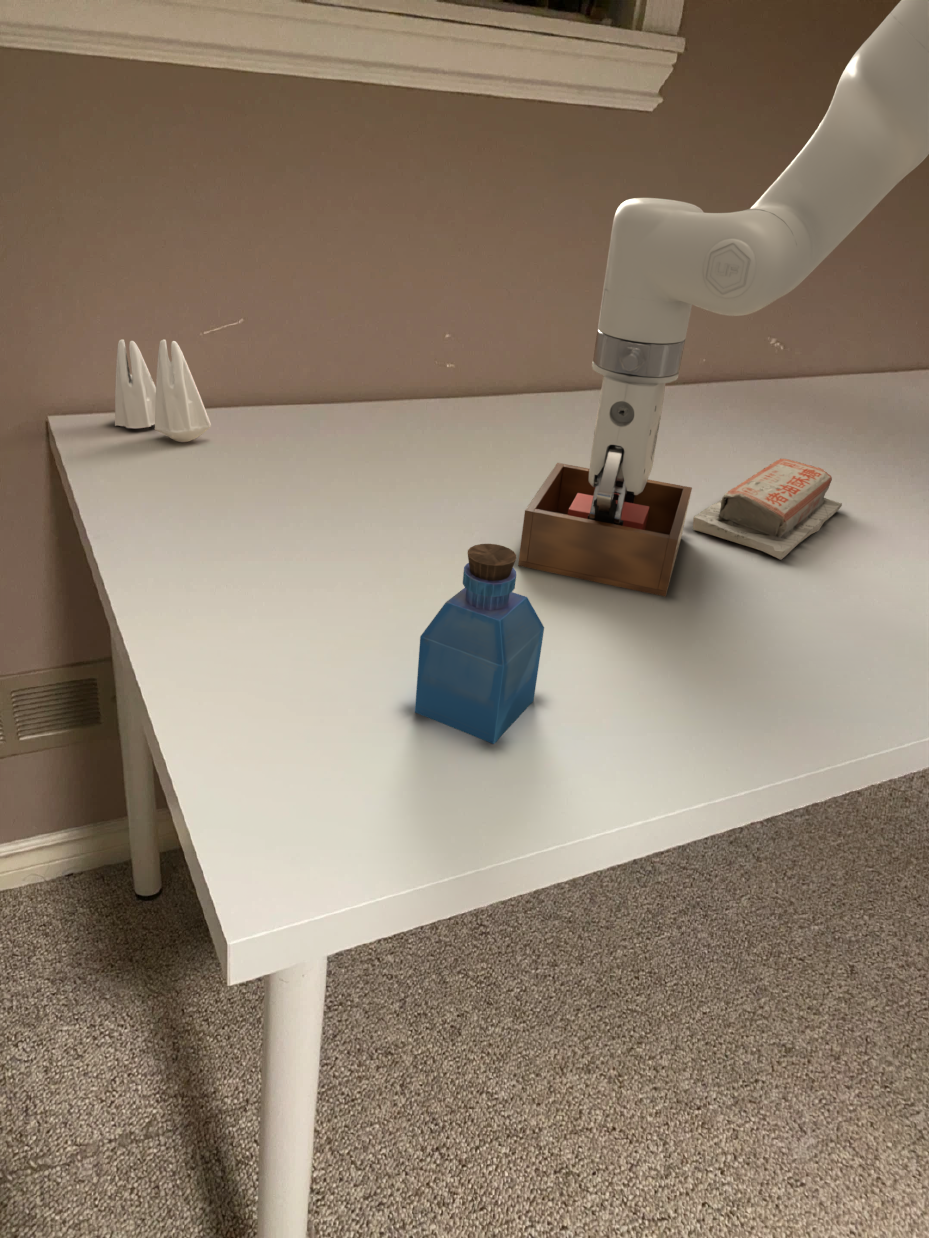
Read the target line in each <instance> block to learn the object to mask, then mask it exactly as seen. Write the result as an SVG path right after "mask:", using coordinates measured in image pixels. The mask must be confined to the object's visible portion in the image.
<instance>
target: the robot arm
mask: <svg viewBox="0 0 929 1238" xmlns="http://www.w3.org/2000/svg"><path fill="white" fill-rule="evenodd" d="M928 156H929V0H900V1H899V2H898V3H897V4H896V5H895V6H894V8H892V10H891V11H890V12H889V14H888V15H887V16H886V17H885V18H884V20H883V21H882V22H881V23H880V24H879V25H878V26H877V27H876V28H875V30H874V31H873V32H872V33H871V35H869V37H868V38H867V39H866V40H865V41H864V42H863V43H862V44H861V46H859V48H858V49H857V50H856V51H855V53H854V54H853V55H852V57H851V59H850V60H849V62H848V63H847V65H846V66H845V69H844V70H843V71H842V73H841V76H840V78H839V80H838V83H837V85H836V88H835V91H834V94H833V96H832V98H831V101H830V104H829V107H828V109H827V111H826V113H825V115H824V116H823V118H822V119H821V122H820V123H819V125H818V126H817V128H816V129H815V131H814V132H813V134H812V135H811V137H810V138H809V139H808V141H807V142H806V144H805V145H804V146H803V148H802V149H801V150H800V151H799V153H798V154H797V155H796V156H795V157H794V159H792V161H791V162H790V163H789V164H788V166H787V167H786V168H785V169H784V170H783V171H782V172H781V173H780V175H779V176H778V177H777V178H776V179H775V181H774V182H773V183H772V184H771V185H770V186H769V187H768V188H767V189H766V190H765V191H764V193H763V194H762V195H761V196H760V197H759V199H757V200H756V202H755V203H754V204H753V205H751V207H750V208H748V209H744V210H738V211H732V212H704V210H702V208H701V207H699V206H697V205H696V204H693V203H689V202H687V201H682V200H681V201H680V200H674V199H666V198H657V197H655V198H654V197H634V198H629V199H626V200H625V201H623V202H622V203H620V205H618V207H617V209H616V210H615V214H614V217H613V221H612V228H611V232H610V241H609V248H608V254H607V261H606V267H605V276H604V282H603V288H602V289H603V290H602V296H601V302H600V308H599V317H598V323H597V330H596V337H595V343H594V349H593V358H592V363H591V369H592V370H593V371H594V372H595V373H597V374H599V375H602V376H603V377H602V384H601V388H600V393H599V399H598V406H597V412H596V419H595V425H594V431H593V438H592V446H591V454H590V461H589V467H588V468H589V483H590V484H591V485H592V486H593V487H595V491H594V495H593V500H592V505H591V510H590V514H589V515H588V519H590V520H595V521H600V522H605V523H610V524H615V525H620V526H623V522H624V521H623V520H621V516H622V511H623V506H624V502H628V503H633V504H634V498H635V495H638V494H640V493H641V492H642V491H643V490H644V487H645V485H646V483H647V480H649V478H650V475H651V472H652V468H653V467H654V462H655V461H654V460H655V454H656V449H657V448H656V447H657V441H658V435H659V429H660V425H661V424H660V423H661V418H662V412H663V406H664V400H665V393H666V384H669V383H672V382H675V381H677V380H678V379H679V375H680V369H681V364H682V358H683V354H684V348H685V343H686V338H687V334H688V329H689V324H690V318H691V313H692V308H693V306H695V307H697V308H699V309H702V310H705V311H708V312H711V313H714V314H716V315H717V314H718V315H721V316H727V317H742V316H748V315H750V314H755V313H756V312H758V311H761V310H762V309H764V308H766V307H767V306H770V305H771V304H772V303H774V302H775V301H777V300H778V299H781V298H782V297H785V296H786V295H788V294H789V293H790V292H792V291H793V290H794V289H796V288H797V287H798V286H799V285H800V284H801V283H802V282H803V281H804V280H806V278H808V277H809V275H810V274H811V273H812V272H813V271H814V270H815V269H816V268H817V267H818V266H819V265H820V264H821V263H822V262H823V261H824V260H825V259H826V258H827V257H828V256H829V255H830V254H831V253H832V252H833V251H834V250H835V249H836V248H837V247H838V246H839V245H840V244H841V243H842V242H843V241H844V240H845V239H846V238H847V237H848V236H849V235H850V234H851V233H852V232H853V230H855V229H856V228H857V226H858V225H859V224H860V223H861V222H862V221H863V220H864V219H865V218H866V217H867V216H868V215H869V214H870V213H871V212H872V211H873V210H874V209H875V208H876V207H877V205H878V204H880V203H881V202H882V200H883V199H884V198H885V197H886V196H887V195H888V194H889V193H890V192H891V191H892V190H893V189H894V188H895V187H896V186H897V185H898V184H899V183H900V182H901V181H902V180H903V179H905V177H906V176H908V175H909V174H910V173H912V172H913V171H914V170H915V169H916V168H917V167H919V165H920V164H921V163H922V162H924V160H925V159H926V158H927V157H928ZM630 491H631V492H630ZM616 500H618V502H617V504H616Z"/></svg>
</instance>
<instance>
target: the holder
mask: <svg viewBox="0 0 929 1238" xmlns="http://www.w3.org/2000/svg"><path fill="white" fill-rule="evenodd" d="M589 468H590V467H583V466H577V465H572V464H566V463H561V462H556V464H555V465H554V467H553V468H552V470H551V471H550V473H549V474H548V476H546V477H545V480H544V481H543V482H542V484H541V486H540V487H539V488H538V490H537V491H536V493H535V495H534V496H533V498H532V499H531V501H530V502H529V504H528V505H527V506H526V508H525V509H524V515H523V524H522V531H521V538H520V547H519V555H518V563H517V566H518V567H523V568H528V569H532V570H536V571H541V572H545V573H546V572H547V573H551V574H556V575H561V576H566V577H569V578H575V579H580V580H585V581H589V582H593V583H598V584H603V585H608V586H614V587H618V588H623V589H627V590H632V591H637V592H641V593H645V594H646V593H647V594H651V595H655V596H661V597H667V594H668V589H669V586H670V582H671V579H672V575H673V572H674V567H675V563H676V559H677V556H678V552H679V548H680V544H681V540H682V536H683V533H684V532H683V531H684V527H685V523H686V518H687V513H688V510H689V504H690V499H691V496H692V490H693V487H691V486H686V485H681V484H675V483H670V482H664V481H659V480H653V479H648V480H647V483H646V485H645V487H644V490H643V491H642V492H641V493H640V494H638V495H635V498H634V504H639V505H644V506H649V512H648V517H647V522H646V527H645V530H641V529H636V528H631V527H625V526H620V525H615V524H610V523H605V522H600V521H595V520H590V519H585V518H580V517H575V516H570V515H568V509H569V508H570V506H571V504H572V502H573V501H574V499H575V497H576V495H577V493H581V494H586V495H592V496H593V495H594V491H595V487H593V486H592V485H591V484H590V483H589ZM630 492H631V491H630Z"/></svg>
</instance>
